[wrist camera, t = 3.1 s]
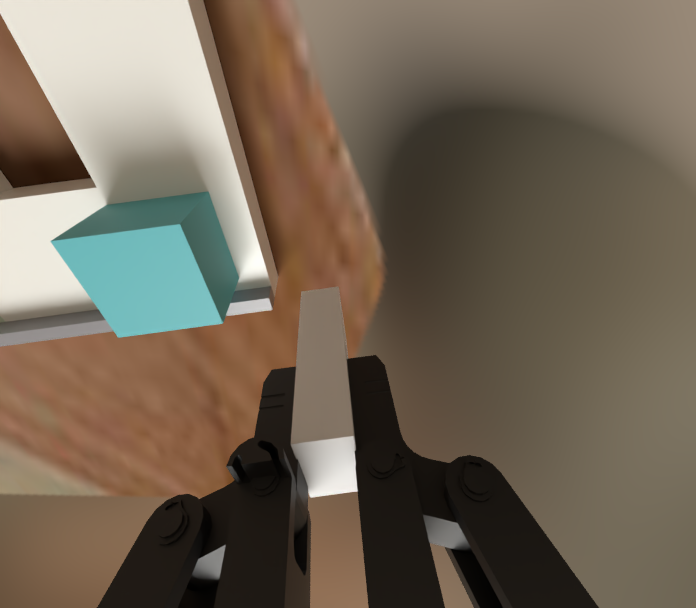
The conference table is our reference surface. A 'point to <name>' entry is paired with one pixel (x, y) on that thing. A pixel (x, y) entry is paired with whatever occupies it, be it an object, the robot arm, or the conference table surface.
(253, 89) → the conference table surface
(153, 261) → the teal block
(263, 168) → the conference table surface
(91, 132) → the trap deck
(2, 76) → the conference table surface
